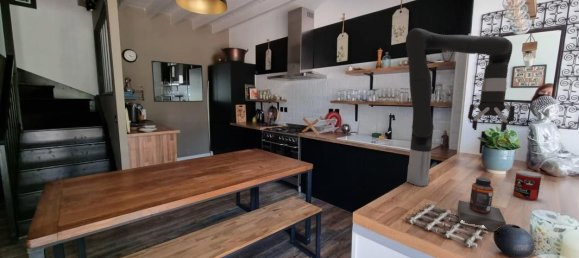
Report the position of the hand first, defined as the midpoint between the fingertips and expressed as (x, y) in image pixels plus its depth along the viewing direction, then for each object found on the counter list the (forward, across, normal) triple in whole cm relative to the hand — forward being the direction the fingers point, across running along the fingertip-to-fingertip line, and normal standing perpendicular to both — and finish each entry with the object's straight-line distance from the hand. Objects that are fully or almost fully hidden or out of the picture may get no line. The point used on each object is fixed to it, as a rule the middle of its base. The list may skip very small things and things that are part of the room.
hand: (488, 130), depth 99 cm
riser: (+30, +2, +21) cm, 37 cm away
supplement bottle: (+26, +2, +21) cm, 34 cm away
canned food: (+30, -18, -18) cm, 40 cm away
